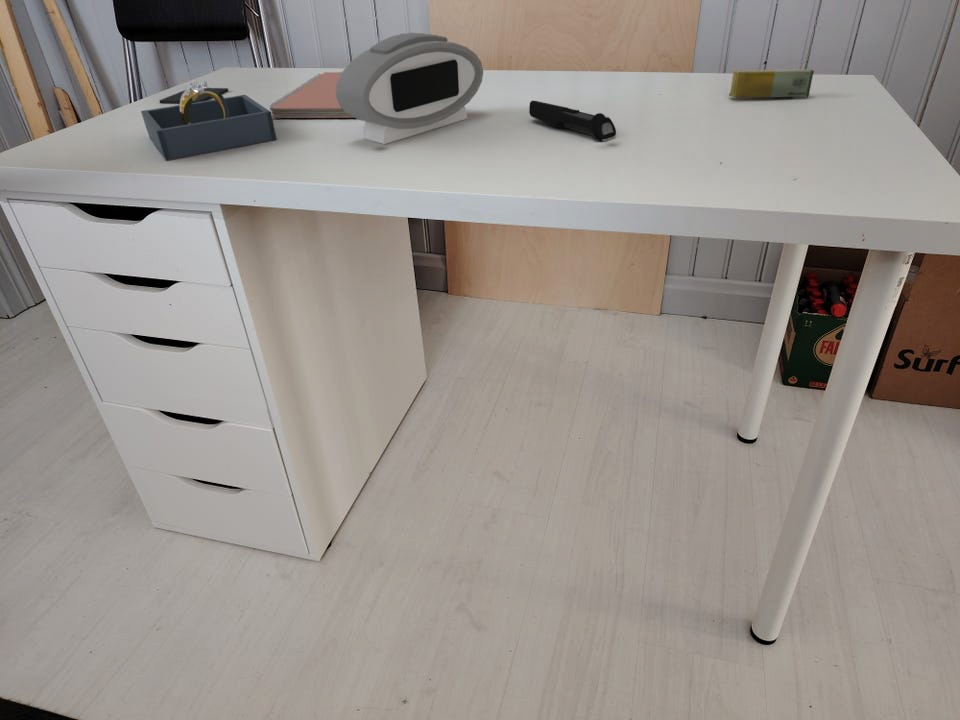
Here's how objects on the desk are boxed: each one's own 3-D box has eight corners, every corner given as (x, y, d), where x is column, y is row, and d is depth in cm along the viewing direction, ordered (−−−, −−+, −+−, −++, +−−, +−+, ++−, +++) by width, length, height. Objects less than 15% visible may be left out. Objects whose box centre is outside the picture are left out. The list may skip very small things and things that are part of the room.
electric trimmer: (541, 118, 100) (541, 96, 99) (618, 137, 90) (619, 113, 88) (523, 123, 99) (523, 101, 97) (599, 143, 88) (600, 118, 87)
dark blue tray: (166, 160, 89) (156, 131, 87) (149, 138, 98) (140, 111, 96) (276, 139, 95) (270, 111, 93) (251, 120, 105) (245, 94, 103)
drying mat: (198, 104, 116) (197, 101, 115) (159, 103, 117) (159, 100, 117) (228, 90, 124) (227, 88, 123) (191, 90, 125) (191, 87, 125)
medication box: (802, 95, 105) (808, 68, 103) (809, 97, 103) (815, 70, 101) (728, 96, 106) (732, 69, 104) (733, 98, 103) (738, 70, 101)
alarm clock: (369, 151, 89) (356, 49, 82) (343, 143, 93) (328, 45, 85) (485, 115, 102) (482, 25, 95) (458, 109, 106) (453, 22, 99)
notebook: (320, 81, 127) (318, 71, 126) (404, 81, 125) (403, 69, 124) (265, 119, 105) (262, 106, 104) (365, 119, 103) (363, 106, 102)
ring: (193, 146, 94) (176, 88, 90) (185, 142, 96) (168, 84, 92) (238, 135, 98) (224, 79, 93) (229, 131, 100) (215, 76, 95)
